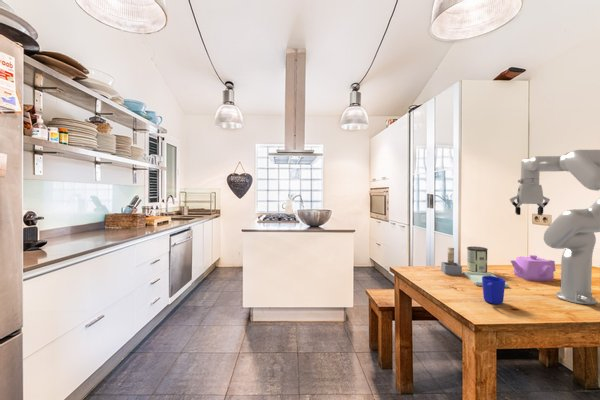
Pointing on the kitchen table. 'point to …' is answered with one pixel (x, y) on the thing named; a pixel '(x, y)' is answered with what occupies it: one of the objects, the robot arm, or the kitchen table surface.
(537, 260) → the teakettle
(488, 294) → the mug
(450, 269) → the grey square bin
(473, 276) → the tray
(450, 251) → the dowel
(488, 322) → the kitchen table surface
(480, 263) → the coffee can
